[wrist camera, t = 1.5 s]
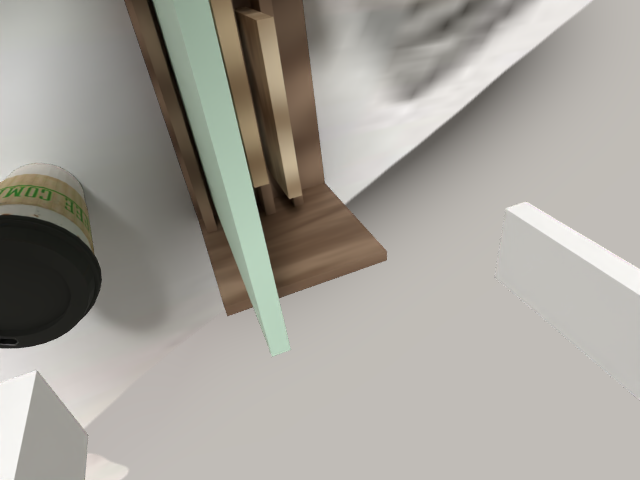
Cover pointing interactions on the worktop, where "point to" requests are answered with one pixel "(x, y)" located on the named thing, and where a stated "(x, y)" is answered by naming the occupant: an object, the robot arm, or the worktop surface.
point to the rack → (273, 204)
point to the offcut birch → (269, 96)
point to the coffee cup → (44, 256)
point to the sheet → (221, 151)
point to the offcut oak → (239, 89)
